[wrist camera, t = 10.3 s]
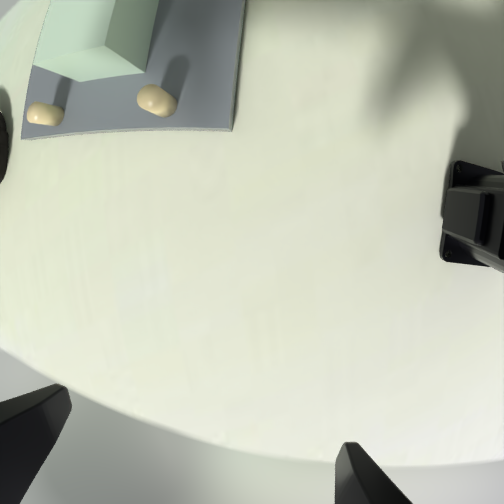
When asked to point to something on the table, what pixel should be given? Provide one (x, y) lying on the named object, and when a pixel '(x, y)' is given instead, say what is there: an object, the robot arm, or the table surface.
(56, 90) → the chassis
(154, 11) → the board block
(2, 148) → the watch
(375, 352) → the table surface
